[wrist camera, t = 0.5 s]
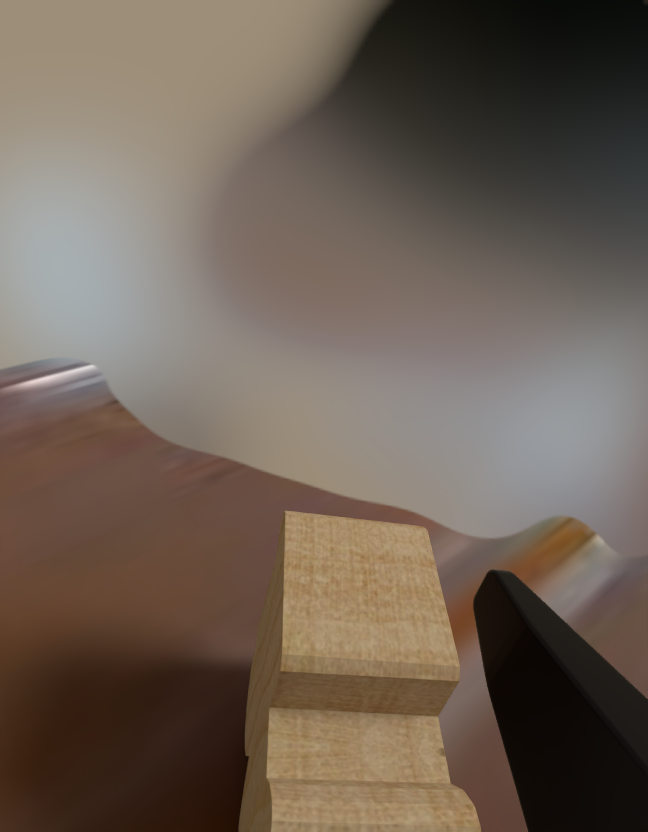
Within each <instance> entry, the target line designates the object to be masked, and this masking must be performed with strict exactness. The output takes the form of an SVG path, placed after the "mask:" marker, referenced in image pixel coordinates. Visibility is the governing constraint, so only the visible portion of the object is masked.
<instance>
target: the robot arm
mask: <svg viewBox="0 0 648 832" xmlns="http://www.w3.org/2000/svg"><path fill="white" fill-rule="evenodd" d="M473 610H474V616H475V622H476V627H477V633H478V638H479V644H480V650H481V655H482V661H483V667H484V672H485V677H486V682H487V687H488V691H489V695H490V698H491V702H492V706H493V709H494V713H495V716H496V720H497V723H498V727H499V730H500V734H501V737H502V741H503V744H504V748H505V752H506V755H507V759H508V762H509V766H510V769H511V773H512V776H513V780H514V783H515V787H516V790H517V794H518V797H519V801H520V804H521V808H522V812H523V815H524V819H525V822H526V826H527V829H528V832H648V699H647V698H646V697H645V696H644V695H643V694H642V693H641V692H640V691H638V690H637V689H636V688H635V687H634V686H633V685H632V684H631V683H630V682H629V681H628V680H627V679H626V678H625V677H624V676H622V675H621V674H620V673H619V672H618V671H617V670H616V669H615V668H614V667H613V666H612V665H611V664H610V663H609V662H608V661H606V660H605V659H604V658H603V657H602V656H601V655H600V654H599V653H598V652H597V651H596V650H595V649H594V648H593V647H592V646H590V645H589V644H588V643H587V642H586V641H585V640H584V639H583V638H582V637H581V636H580V635H579V634H578V633H577V632H576V631H574V630H573V629H572V628H571V627H570V626H569V625H568V624H567V623H566V622H565V621H564V620H563V619H562V618H561V617H560V616H558V615H557V614H556V613H555V612H554V611H553V610H552V609H551V608H550V607H549V606H548V605H547V604H546V603H545V602H543V601H542V600H541V599H540V598H539V597H538V596H537V595H536V594H535V593H534V592H533V591H532V590H531V589H530V588H529V587H527V586H526V585H525V584H524V583H523V582H522V581H521V580H520V579H519V578H518V577H517V576H516V575H515V574H513V573H512V572H510V571H505V570H494V569H493V570H490V571H489V572H487V574H486V576H485V578H484V579H483V581H482V583H481V585H480V587H479V589H478V591H477V593H476V595H475V597H474V601H473Z"/></svg>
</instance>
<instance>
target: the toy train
mask: <svg viewBox="0 0 648 832" xmlns="http://www.w3.org/2000/svg"><path fill="white" fill-rule="evenodd" d="M459 676H460V664H459V660H458V656H457V652H456V648H455V644H454V639H453V635H452V631H451V627H450V623H449V619H448V614H447V610H446V606H445V602H444V598H443V594H442V590H441V585H440V581H439V577H438V573H437V569H436V565H435V561H434V556H433V552H432V548H431V544H430V540H429V536H428V531H427V530H426V529H425V528H424V527H422V526H414V525H405V524H396V523H388V522H379V521H370V520H362V519H353V518H344V517H335V516H327V515H318V514H309V513H301V512H292V511H284V513H283V515H282V520H281V526H280V533H279V540H278V547H277V555H276V561H275V565H274V569H273V572H272V576H271V580H270V584H269V587H268V591H267V595H266V599H265V602H264V606H263V610H262V613H261V617H260V621H259V625H258V632H257V641H256V647H255V651H254V656H253V661H252V667H251V673H250V681H249V689H248V699H247V709H246V723H245V754H246V756H249V760H248V766H247V772H246V778H245V784H244V790H243V797H242V804H241V811H240V819H239V829H238V832H481V827H480V823H479V820H478V816H477V813H476V810H475V806H474V805H473V803H472V802H471V800H470V799H469V797H468V796H467V795H466V793H465V792H464V790H462V789H460V788H458V787H456V786H454V785H453V784H451V783H450V778H449V773H448V768H447V762H446V757H445V752H444V746H443V741H442V736H441V731H440V725H439V720H438V715H439V714H440V712H441V710H442V709H443V707H444V705H445V704H446V702H447V700H448V699H449V697H450V696H451V694H452V692H453V691H454V689H455V687H456V686H457V684H458V682H459Z"/></svg>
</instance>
